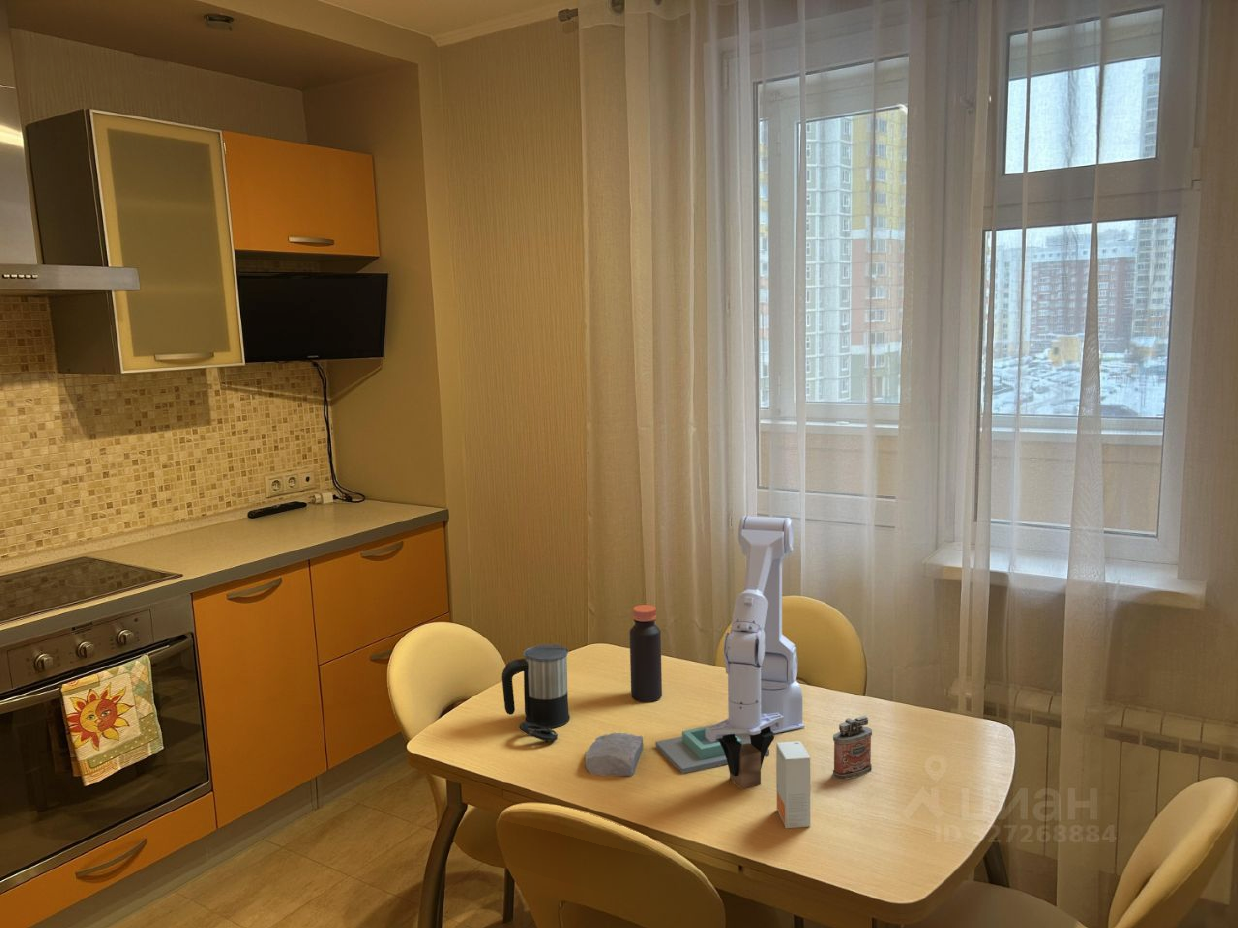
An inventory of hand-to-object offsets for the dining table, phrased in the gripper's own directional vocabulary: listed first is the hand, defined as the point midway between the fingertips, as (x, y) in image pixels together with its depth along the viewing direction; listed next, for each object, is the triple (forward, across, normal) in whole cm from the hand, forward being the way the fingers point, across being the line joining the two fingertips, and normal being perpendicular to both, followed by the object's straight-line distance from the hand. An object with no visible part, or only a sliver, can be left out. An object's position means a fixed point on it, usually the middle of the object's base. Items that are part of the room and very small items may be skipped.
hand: (745, 771), depth 161 cm
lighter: (+2, +19, -5) cm, 20 cm away
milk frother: (+2, -26, +36) cm, 44 cm away
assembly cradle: (+2, 0, +13) cm, 13 cm away
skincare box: (+2, +1, -14) cm, 14 cm away
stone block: (+2, -18, +17) cm, 25 cm away
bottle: (+2, -1, +42) cm, 42 cm away
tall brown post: (+2, 0, 0) cm, 2 cm away
